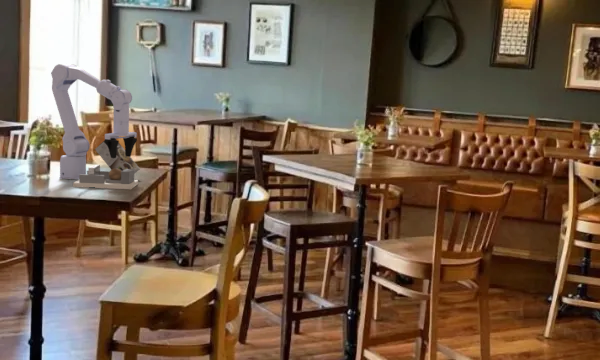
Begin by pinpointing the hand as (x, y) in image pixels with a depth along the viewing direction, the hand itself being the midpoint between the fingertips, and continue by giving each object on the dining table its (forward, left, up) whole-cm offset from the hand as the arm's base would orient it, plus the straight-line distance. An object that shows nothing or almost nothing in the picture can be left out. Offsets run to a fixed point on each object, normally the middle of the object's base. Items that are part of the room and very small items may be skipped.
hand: (120, 157), depth 290 cm
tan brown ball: (0, -9, -6) cm, 10 cm away
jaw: (-8, -9, -7) cm, 13 cm away
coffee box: (+3, +5, -8) cm, 10 cm away
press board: (-3, -9, -10) cm, 13 cm away
